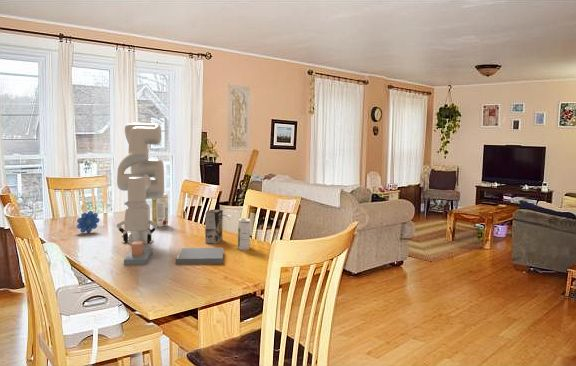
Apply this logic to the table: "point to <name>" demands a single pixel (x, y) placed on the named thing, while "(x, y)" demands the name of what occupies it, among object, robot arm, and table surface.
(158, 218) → the juice carton
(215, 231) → the coffee box
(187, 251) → the board
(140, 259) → the stub
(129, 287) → the table surface
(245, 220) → the syrup box
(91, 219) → the grapes
